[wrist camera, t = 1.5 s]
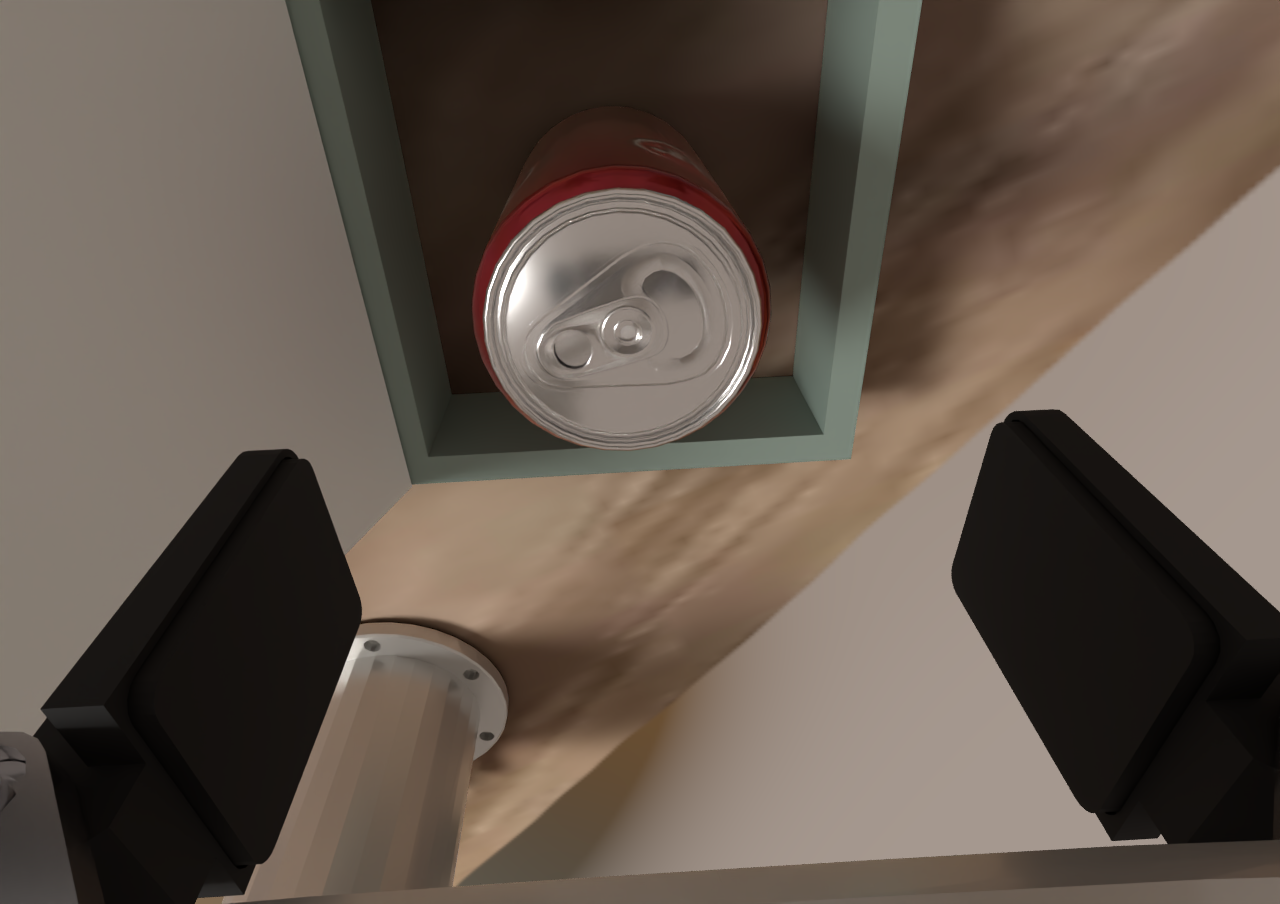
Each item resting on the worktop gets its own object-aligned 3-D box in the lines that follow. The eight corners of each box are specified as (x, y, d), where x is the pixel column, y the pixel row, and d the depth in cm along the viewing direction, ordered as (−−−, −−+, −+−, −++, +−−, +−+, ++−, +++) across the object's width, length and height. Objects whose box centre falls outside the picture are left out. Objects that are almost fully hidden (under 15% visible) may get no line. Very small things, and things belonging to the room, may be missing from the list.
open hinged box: (816, 398, 31) (1050, 815, 15) (304, 426, 31) (-19, 891, 15) (873, -88, 22) (1650, -350, 6) (137, -60, 21) (-1296, -264, 5)
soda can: (687, 78, 24) (752, 130, 14) (723, 275, 28) (794, 426, 18) (489, 133, 25) (415, 221, 15) (551, 319, 29) (526, 489, 19)
